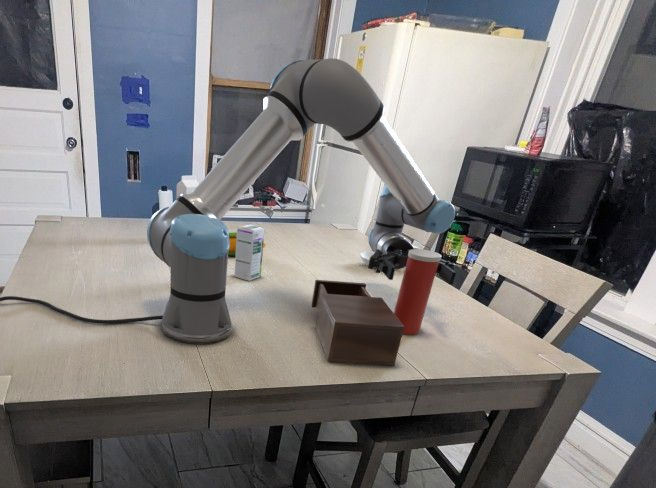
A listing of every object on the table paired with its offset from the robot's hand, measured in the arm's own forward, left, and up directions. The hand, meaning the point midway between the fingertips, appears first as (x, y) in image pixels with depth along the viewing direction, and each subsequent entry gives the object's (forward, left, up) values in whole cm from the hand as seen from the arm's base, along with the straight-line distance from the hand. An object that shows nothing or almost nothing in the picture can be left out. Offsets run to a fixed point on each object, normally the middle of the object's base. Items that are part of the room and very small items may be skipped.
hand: (422, 276), depth 107 cm
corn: (-30, +64, -14) cm, 72 cm away
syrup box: (-31, +40, -14) cm, 52 cm away
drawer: (-14, +8, -13) cm, 21 cm away
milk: (-45, +81, -14) cm, 94 cm away
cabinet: (-17, -7, -14) cm, 23 cm away
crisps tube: (0, +2, -14) cm, 14 cm away
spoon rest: (+22, +54, -14) cm, 60 cm away
